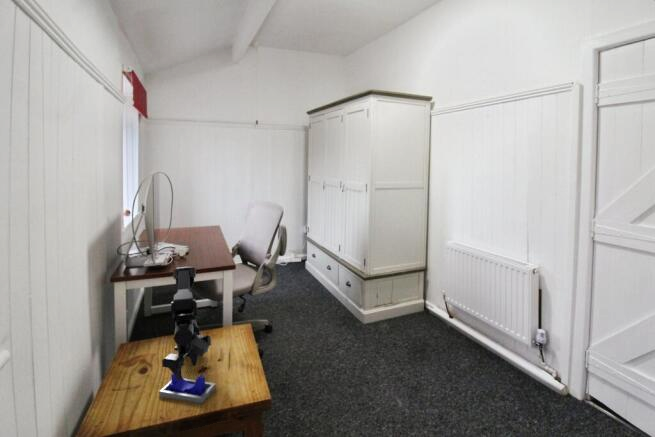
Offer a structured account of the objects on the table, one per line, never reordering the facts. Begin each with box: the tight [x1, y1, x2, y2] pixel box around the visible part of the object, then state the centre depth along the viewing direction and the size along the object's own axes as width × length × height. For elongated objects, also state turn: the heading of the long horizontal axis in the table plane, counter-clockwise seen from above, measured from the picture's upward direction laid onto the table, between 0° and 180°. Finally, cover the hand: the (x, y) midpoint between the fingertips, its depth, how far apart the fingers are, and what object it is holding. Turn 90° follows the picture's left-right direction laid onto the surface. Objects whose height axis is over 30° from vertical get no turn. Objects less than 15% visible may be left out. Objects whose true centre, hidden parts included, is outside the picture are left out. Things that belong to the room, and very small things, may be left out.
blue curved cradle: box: [169, 372, 206, 396], centre depth 132 cm, size 12×4×6 cm, turn 73°
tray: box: [158, 377, 217, 405], centre depth 133 cm, size 17×9×2 cm, turn 77°
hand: (187, 372), depth 131 cm, fingers open, 9 cm apart
